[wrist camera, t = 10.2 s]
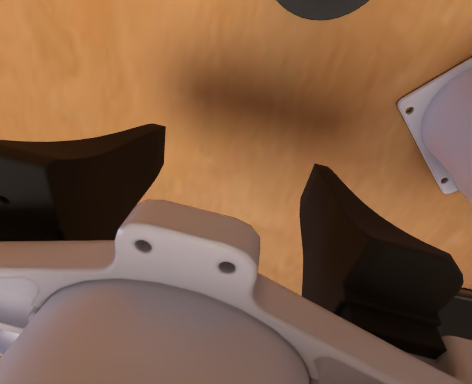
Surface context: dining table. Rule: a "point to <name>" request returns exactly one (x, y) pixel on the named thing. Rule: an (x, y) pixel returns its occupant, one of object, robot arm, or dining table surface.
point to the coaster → (321, 8)
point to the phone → (457, 316)
